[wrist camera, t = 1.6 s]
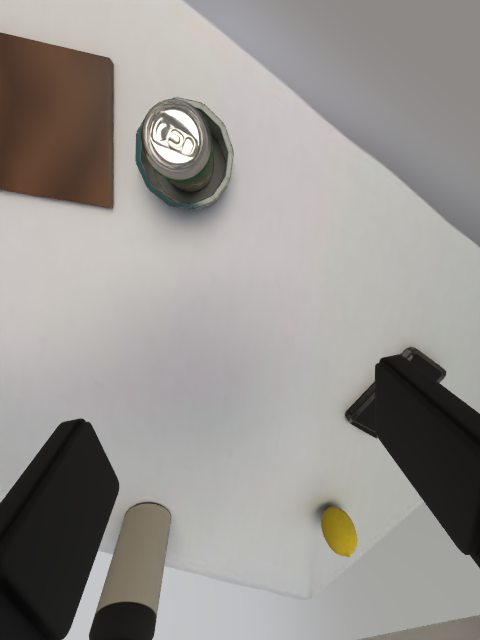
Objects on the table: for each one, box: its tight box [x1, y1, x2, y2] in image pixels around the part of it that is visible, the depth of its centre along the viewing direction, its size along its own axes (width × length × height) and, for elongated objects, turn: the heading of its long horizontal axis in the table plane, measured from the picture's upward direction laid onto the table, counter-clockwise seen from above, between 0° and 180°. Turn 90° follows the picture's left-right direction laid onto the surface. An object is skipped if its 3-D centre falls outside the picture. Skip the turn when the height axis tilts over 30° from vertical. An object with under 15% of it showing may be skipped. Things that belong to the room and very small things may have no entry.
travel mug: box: [89, 504, 171, 640], centre depth 40 cm, size 8×8×18 cm
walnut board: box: [0, 33, 113, 208], centre depth 27 cm, size 20×13×1 cm, turn 81°
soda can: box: [141, 99, 213, 192], centre depth 24 cm, size 5×5×12 cm
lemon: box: [321, 506, 357, 557], centre depth 48 cm, size 6×6×8 cm
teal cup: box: [136, 97, 234, 210], centre depth 27 cm, size 9×9×6 cm
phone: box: [346, 348, 446, 438], centre depth 43 cm, size 8×1×15 cm
